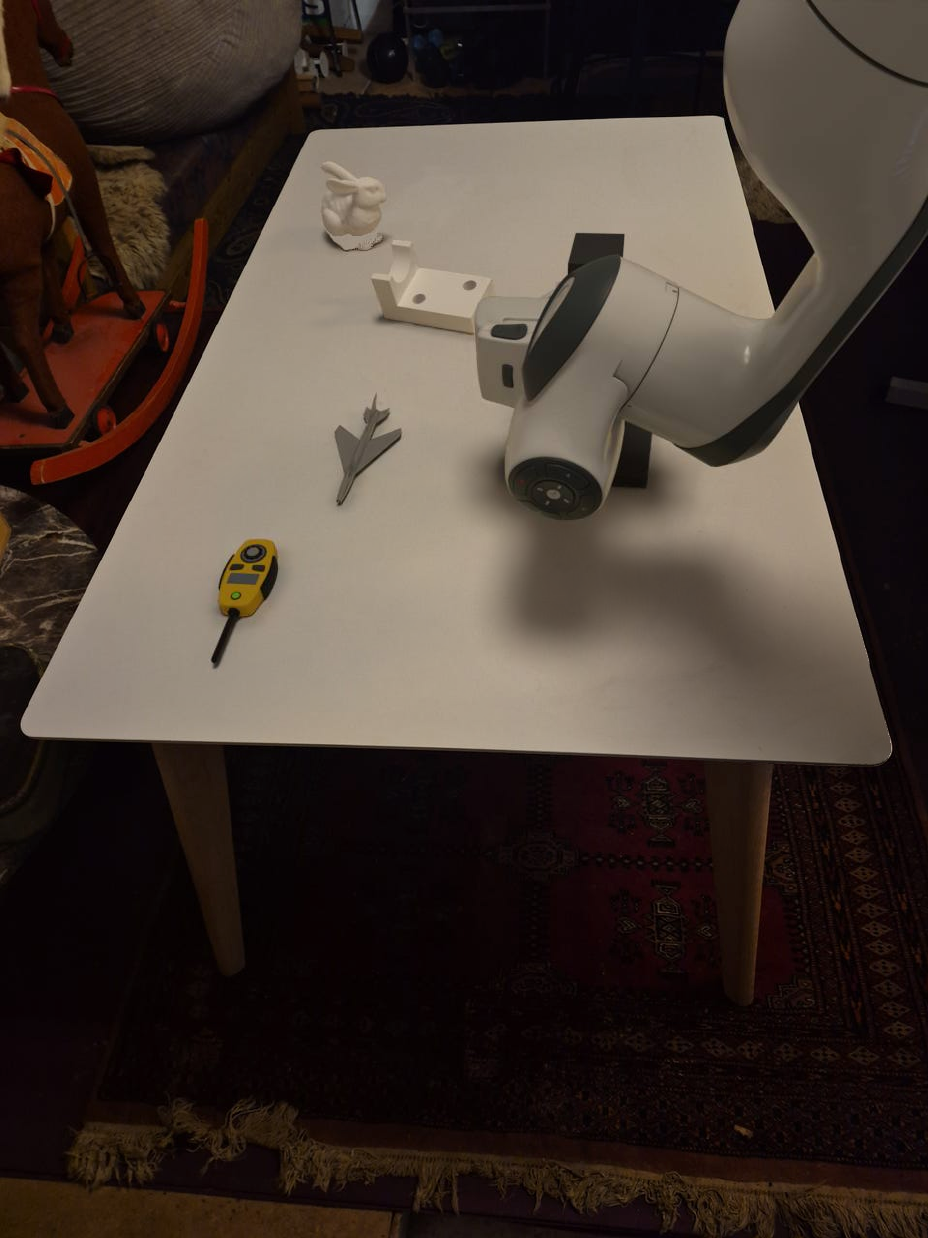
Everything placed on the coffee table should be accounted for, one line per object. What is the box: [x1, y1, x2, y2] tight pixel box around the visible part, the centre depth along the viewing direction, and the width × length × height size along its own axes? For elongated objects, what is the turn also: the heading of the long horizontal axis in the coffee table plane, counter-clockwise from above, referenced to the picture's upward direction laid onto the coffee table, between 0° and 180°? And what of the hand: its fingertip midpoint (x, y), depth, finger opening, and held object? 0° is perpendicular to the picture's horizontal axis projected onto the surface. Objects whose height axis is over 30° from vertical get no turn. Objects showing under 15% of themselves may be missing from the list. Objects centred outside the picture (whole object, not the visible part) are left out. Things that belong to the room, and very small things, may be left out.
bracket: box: [370, 238, 496, 335], centre depth 110 cm, size 13×7×8 cm, turn 65°
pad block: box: [567, 232, 625, 275], centre depth 81 cm, size 4×6×10 cm
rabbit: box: [320, 160, 388, 252], centre depth 124 cm, size 12×9×12 cm
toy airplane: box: [334, 389, 402, 504], centre depth 94 cm, size 8×21×2 cm, turn 169°
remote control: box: [210, 538, 279, 664], centre depth 79 cm, size 5×2×15 cm
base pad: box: [611, 420, 653, 488], centre depth 92 cm, size 14×18×4 cm
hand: (595, 290), depth 81 cm, fingers closed on pad block, 4 cm apart
